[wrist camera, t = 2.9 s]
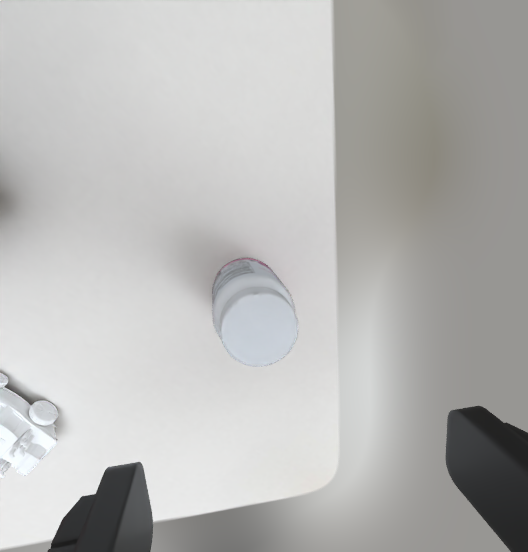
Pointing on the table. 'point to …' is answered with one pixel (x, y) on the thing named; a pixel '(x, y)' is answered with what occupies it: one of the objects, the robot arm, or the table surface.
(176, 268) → the table surface
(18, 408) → the toy car
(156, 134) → the table surface
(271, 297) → the pill bottle
